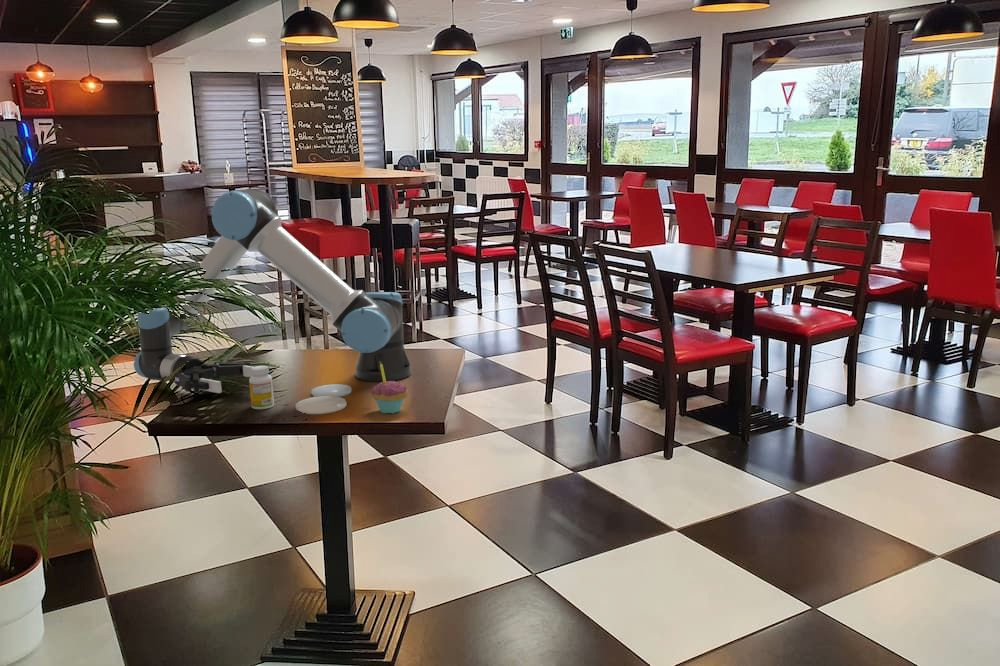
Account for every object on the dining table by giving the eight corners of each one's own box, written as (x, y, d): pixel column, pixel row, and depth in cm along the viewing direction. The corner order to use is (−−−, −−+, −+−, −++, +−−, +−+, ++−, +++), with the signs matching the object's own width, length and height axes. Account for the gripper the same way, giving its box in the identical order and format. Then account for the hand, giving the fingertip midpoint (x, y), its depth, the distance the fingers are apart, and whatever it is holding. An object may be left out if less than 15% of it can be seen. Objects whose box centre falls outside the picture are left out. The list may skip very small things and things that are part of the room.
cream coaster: (336, 396, 204) (336, 393, 204) (353, 408, 194) (353, 405, 194) (289, 404, 198) (289, 401, 198) (304, 417, 188) (304, 414, 188)
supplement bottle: (256, 402, 200) (253, 364, 198) (277, 403, 199) (274, 364, 197) (247, 409, 195) (244, 370, 193) (269, 410, 194) (266, 370, 192)
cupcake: (368, 415, 189) (365, 365, 186) (378, 404, 197) (375, 356, 195) (403, 416, 188) (401, 366, 185) (412, 405, 196) (410, 357, 193)
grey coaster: (343, 385, 214) (343, 382, 214) (357, 394, 206) (357, 391, 206) (306, 391, 209) (306, 388, 209) (318, 400, 201) (318, 397, 201)
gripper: (222, 372, 220) (280, 382, 210) (142, 396, 199) (202, 408, 189) (220, 345, 219) (278, 354, 208) (139, 367, 197) (199, 377, 187)
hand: (242, 380), depth 198 cm, fingers open, 13 cm apart
